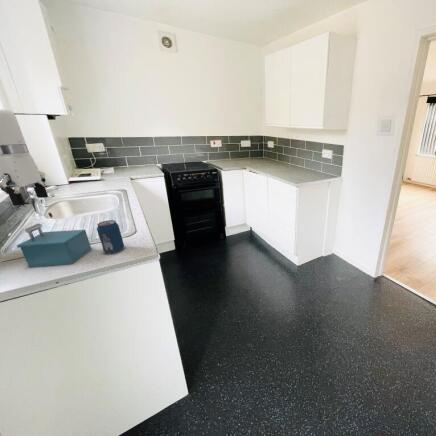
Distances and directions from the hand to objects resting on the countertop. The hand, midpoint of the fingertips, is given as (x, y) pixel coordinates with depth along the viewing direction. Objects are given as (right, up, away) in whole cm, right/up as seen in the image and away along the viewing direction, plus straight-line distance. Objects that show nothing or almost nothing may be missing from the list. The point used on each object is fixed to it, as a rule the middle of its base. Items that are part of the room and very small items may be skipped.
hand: (31, 201), depth 85 cm
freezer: (+3, -21, +8) cm, 23 cm away
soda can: (+20, -19, +13) cm, 30 cm away
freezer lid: (+3, -14, +5) cm, 15 cm away
